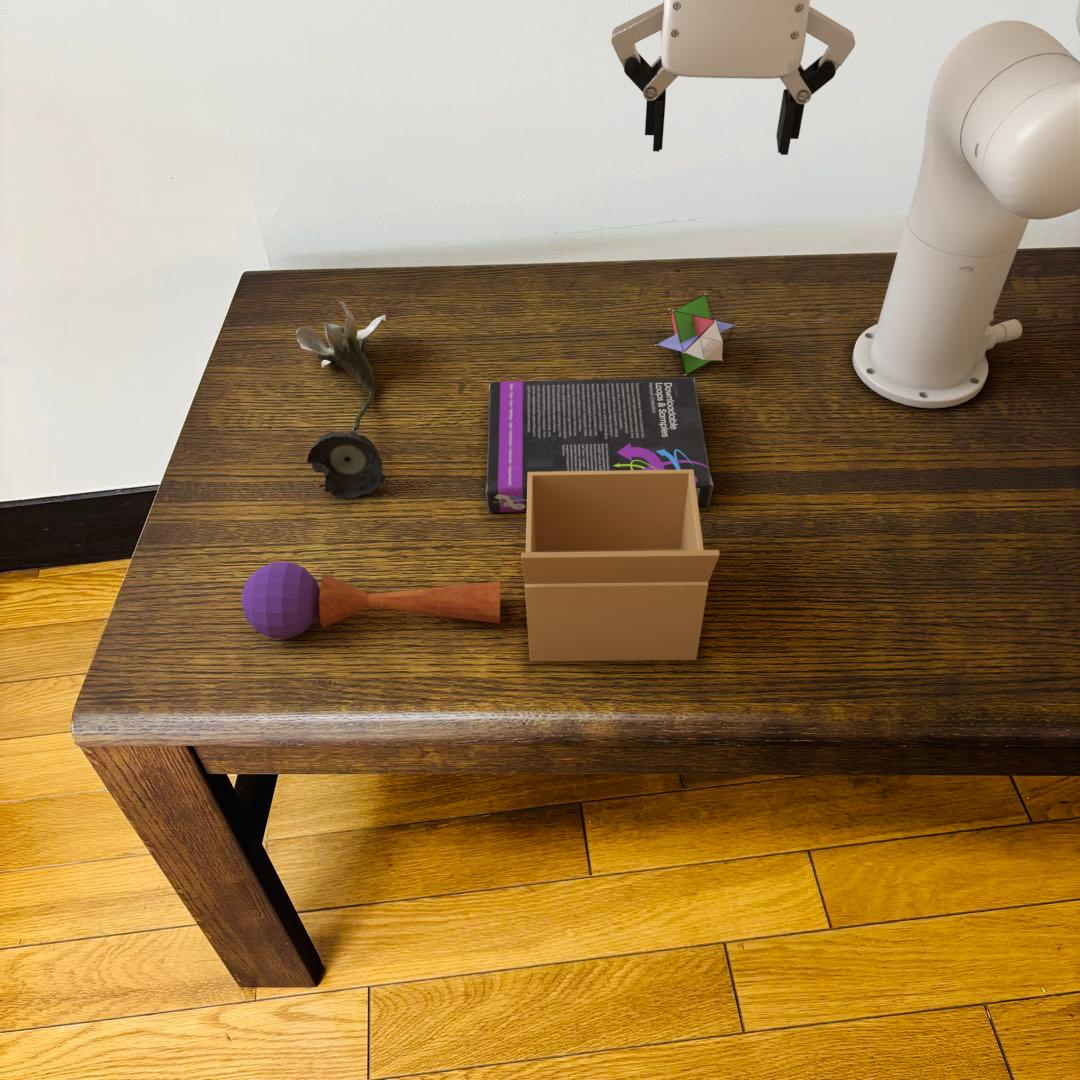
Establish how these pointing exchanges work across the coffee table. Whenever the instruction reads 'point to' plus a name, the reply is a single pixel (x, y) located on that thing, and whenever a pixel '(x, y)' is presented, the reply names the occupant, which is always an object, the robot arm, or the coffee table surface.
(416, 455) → the coffee table surface
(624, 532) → the carton
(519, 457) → the box
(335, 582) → the kendama
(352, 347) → the artificial flower
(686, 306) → the geometric puzzle
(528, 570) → the flap
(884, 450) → the coffee table surface
